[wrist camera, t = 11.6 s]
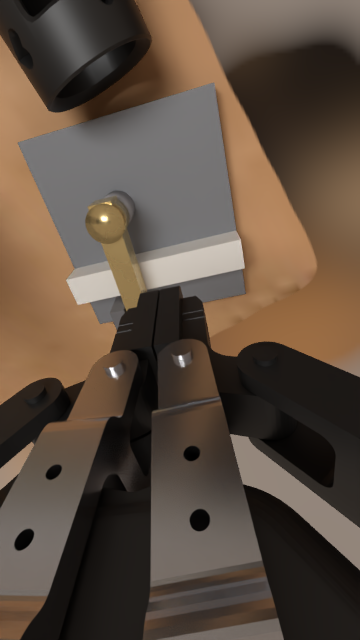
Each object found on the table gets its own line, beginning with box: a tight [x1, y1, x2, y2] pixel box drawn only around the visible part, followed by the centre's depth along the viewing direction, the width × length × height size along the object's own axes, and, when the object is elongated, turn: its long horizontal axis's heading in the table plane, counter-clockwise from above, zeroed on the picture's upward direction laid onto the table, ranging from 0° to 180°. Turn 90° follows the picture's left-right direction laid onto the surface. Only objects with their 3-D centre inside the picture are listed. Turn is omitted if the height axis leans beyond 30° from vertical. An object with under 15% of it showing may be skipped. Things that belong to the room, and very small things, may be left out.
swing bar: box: [85, 196, 147, 311], centre depth 29 cm, size 13×3×3 cm, turn 13°
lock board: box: [18, 83, 246, 329], centre depth 30 cm, size 18×20×8 cm
